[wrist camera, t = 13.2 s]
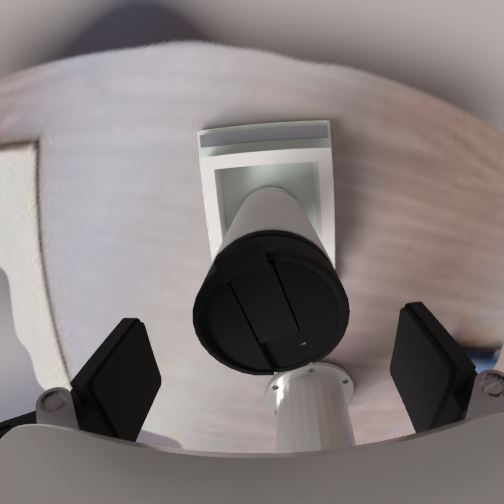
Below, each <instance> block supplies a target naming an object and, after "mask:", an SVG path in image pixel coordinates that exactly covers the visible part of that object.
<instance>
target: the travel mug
mask: <svg viewBox="0 0 504 504" xmlns="http://www.w3.org/2000/svg"><path fill="white" fill-rule="evenodd" d="M349 313H350V310H349V302H348V298H347V295H346V293H345V290H344V288H343V286H342V284H341V282H340V280H339V278H338V276H337V274H336V271H335V268H334V266H333V264H332V261H331V259H330V257H329V256H328V254H327V252H326V250H325V248H324V246H323V244H322V243H321V241H320V239H319V237H318V235H317V233H316V232H315V230H314V228H313V226H312V224H311V223H310V221H309V219H308V217H307V215H306V214H305V212H304V210H303V208H302V207H301V205H300V203H299V201H298V200H297V199H296V197H295V196H294V195H293V194H292V193H291V192H289V191H288V190H286V189H284V188H281V187H277V186H265V187H261V188H258V189H256V190H254V191H253V192H252V193H250V194H249V195H248V196H247V197H246V199H245V200H244V202H243V204H242V205H241V207H240V209H239V211H238V213H237V215H236V217H235V219H234V221H233V223H232V224H231V226H230V228H229V230H228V232H227V234H226V236H225V238H224V240H223V242H222V244H221V246H220V248H219V249H218V251H217V253H216V255H215V257H214V259H213V261H212V263H211V265H210V267H209V270H208V274H207V276H206V278H205V280H204V282H203V284H202V286H201V288H200V290H199V292H198V294H197V296H196V299H195V303H194V307H193V325H194V328H195V332H196V335H197V337H198V339H199V341H200V342H201V344H202V346H203V347H204V348H205V349H206V350H207V352H208V353H209V354H210V355H211V356H213V357H214V358H215V359H216V360H218V361H219V362H220V363H222V364H224V365H226V366H227V367H229V368H231V369H234V370H237V371H239V372H242V373H247V374H251V375H274V372H286V371H291V370H295V369H298V368H301V367H304V366H306V365H308V364H309V363H311V362H313V364H314V363H315V362H317V361H319V360H321V359H322V358H324V357H326V356H327V355H329V354H330V353H331V352H332V351H333V350H334V348H335V347H336V346H337V345H338V344H339V342H340V341H341V339H342V337H343V336H344V334H345V331H346V328H347V326H348V321H349Z"/></svg>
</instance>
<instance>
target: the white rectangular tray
mask: <svg viewBox="0 0 504 504" xmlns="http://www.w3.org/2000/svg"><path fill="white" fill-rule="evenodd" d="M197 138H198V147H199V157H200V158H199V161H200V170H201V179H202V187H203V196H204V204H205V212H206V220H207V227H208V235H209V242H210V249H211V256H212V261H213V259H214V257H215V255H216V253H217V251H218V249H219V248H220V246H221V244H222V242H223V240H224V238H225V236H226V234H227V232H228V230H229V228H230V226H231V224H232V223H233V221H234V219H235V217H236V215H237V213H238V211H239V209H240V207H241V205H242V204H243V202H244V200H245V199H246V197H247V196H248V195H249V194H250V193H252V192H253V191H254V190H256V189H258V188H261V187H265V186H277V187H281V188H284V189H286V190H288V191H289V192H291V193H292V194H293V195H294V196H295V197H296V199H297V200H298V201H299V203H300V205H301V207H302V208H303V210H304V212H305V214H306V215H307V217H308V219H309V221H310V223H311V224H312V226H313V228H314V230H315V232H316V233H317V235H318V237H319V239H320V241H321V243H322V244H323V246H324V248H325V250H326V252H327V254H328V256H329V257H330V259H331V261H332V264H333V266H334V268H335V200H334V177H333V160H332V145H331V133H330V121H329V120H319V121H291V122H275V123H261V124H250V125H240V126H231V127H222V128H215V129H207V130H200V131H197Z"/></svg>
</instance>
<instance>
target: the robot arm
mask: <svg viewBox="0 0 504 504" xmlns="http://www.w3.org/2000/svg"><path fill="white" fill-rule="evenodd" d="M475 368H476V366H475V365H474V364H473V362H472V361H471V360H470V358H469V357H468V356H467V355H466V353H465V352H464V351H463V350H462V348H461V347H460V346H459V345H458V344H457V342H456V341H455V340H454V339H453V338H452V336H451V335H450V334H449V333H448V332H447V330H446V329H445V328H444V327H443V326H442V325H441V323H440V322H439V321H438V320H437V319H436V318H435V317H434V315H433V314H432V313H431V312H430V311H429V310H428V309H427V308H426V306H425V305H424V304H423V303H422V302H413V303H407V304H406V305H405V307H404V308H402V309H401V310H400V316H399V322H398V328H397V334H396V340H395V345H394V350H393V355H392V360H391V364H390V373H391V376H392V378H393V381H394V383H395V385H396V387H397V389H398V392H399V394H400V396H401V398H402V401H403V403H404V405H405V408H406V410H407V412H408V415H409V417H410V419H411V422H412V424H413V427H414V429H415V431H416V433H415V434H411V435H407V436H402V437H398V438H394V439H389V440H384V441H379V442H374V443H369V444H363V445H357V446H356V442H355V438H354V433H353V429H352V424H351V420H350V416H349V412H348V407H347V405H348V404H349V402H350V401H351V399H352V396H353V393H354V386H353V382H352V379H351V377H350V375H349V374H348V373H347V372H346V371H345V370H344V369H342V368H341V367H339V366H337V365H334V364H331V363H327V362H315V363H314V364H313V362H311V363H309V364H308V365H306V366H304V367H301V368H298V369H295V370H291V371H286V372H280V373H279V374H277V375H276V376H275V377H274V378H273V379H272V380H271V382H270V383H269V385H268V387H267V390H266V404H267V407H268V409H269V410H270V411H271V412H272V413H273V414H274V415H275V416H276V417H277V445H276V453H221V452H206V451H194V450H184V449H176V448H168V447H161V446H154V445H148V444H143V443H137V442H135V441H136V439H137V437H138V434H139V432H140V430H141V428H142V426H143V423H144V421H145V419H146V417H147V414H148V412H149V410H150V408H151V406H152V403H153V401H154V399H155V397H156V395H157V393H158V390H159V388H160V386H161V375H160V372H159V369H158V366H157V363H156V360H155V357H154V354H153V351H152V348H151V345H150V341H149V338H148V335H147V331H146V328H145V325H144V323H143V322H140V320H139V319H138V318H123V319H122V320H121V321H120V323H119V324H118V325H117V326H116V327H115V329H114V330H113V331H112V332H111V333H110V334H109V336H108V337H107V338H106V339H105V340H104V342H103V343H102V344H101V345H100V347H99V348H98V349H97V350H96V351H95V353H94V354H93V355H92V356H91V358H90V359H89V360H88V361H87V362H86V364H85V365H84V366H83V367H82V369H81V370H80V371H79V372H78V374H77V375H76V376H75V378H74V379H73V380H72V381H71V383H70V384H71V386H72V388H73V389H72V390H71V391H69V390H67V389H65V388H63V387H56V388H51V389H49V390H47V391H45V392H44V393H42V394H41V395H40V397H39V398H38V400H37V402H36V411H33V412H30V413H28V414H25V415H21V416H18V417H15V418H12V419H9V420H6V421H3V422H1V423H0V504H504V373H502V372H500V371H497V370H491V369H490V370H484V371H482V372H480V373H479V374H478V373H477V372H476V371H475Z"/></svg>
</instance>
